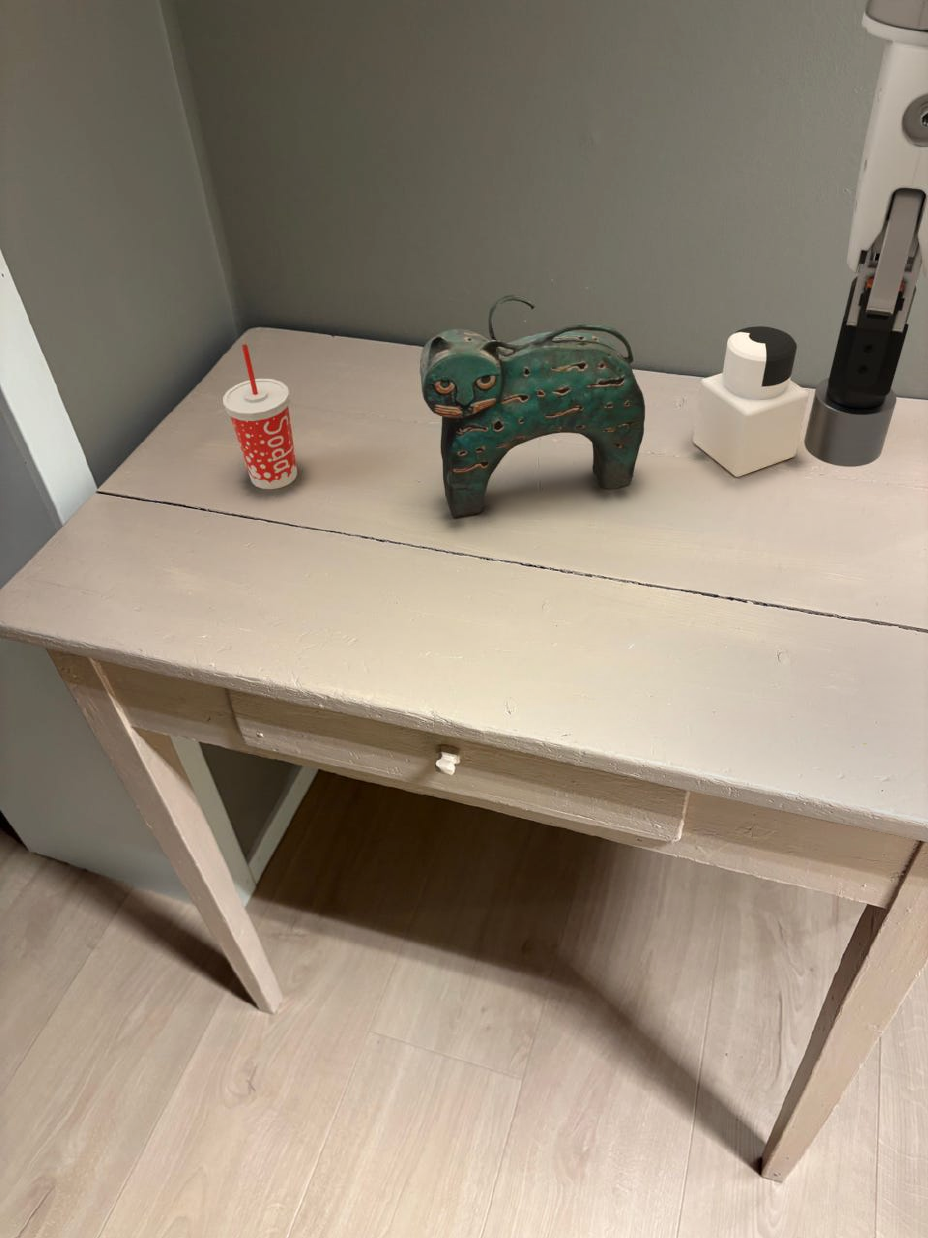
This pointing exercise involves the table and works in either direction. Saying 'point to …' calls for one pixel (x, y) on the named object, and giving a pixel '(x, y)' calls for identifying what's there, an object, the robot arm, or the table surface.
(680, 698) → the table surface
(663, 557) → the table surface
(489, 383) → the ceramic cat
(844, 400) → the torch
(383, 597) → the table surface
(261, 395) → the beverage cup
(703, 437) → the medicine bottle
